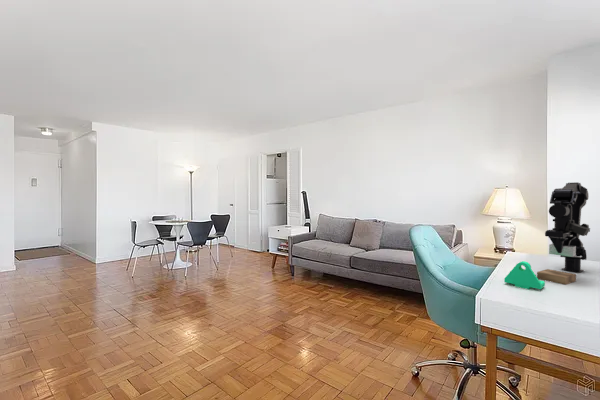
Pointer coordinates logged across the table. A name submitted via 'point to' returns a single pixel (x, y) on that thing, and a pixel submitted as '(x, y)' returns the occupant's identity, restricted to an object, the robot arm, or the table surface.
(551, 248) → the block
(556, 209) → the robot arm
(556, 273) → the stand
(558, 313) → the table surface
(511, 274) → the camera mount
